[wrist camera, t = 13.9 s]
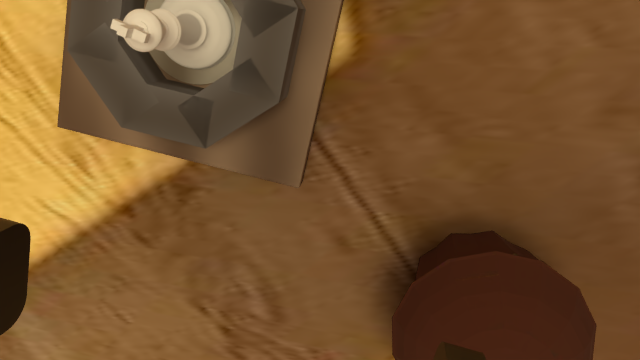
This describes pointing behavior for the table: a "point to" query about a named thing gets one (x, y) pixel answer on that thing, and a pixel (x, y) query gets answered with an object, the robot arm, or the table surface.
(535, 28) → the table surface
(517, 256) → the muffin
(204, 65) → the chess piece
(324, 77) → the collar socket
